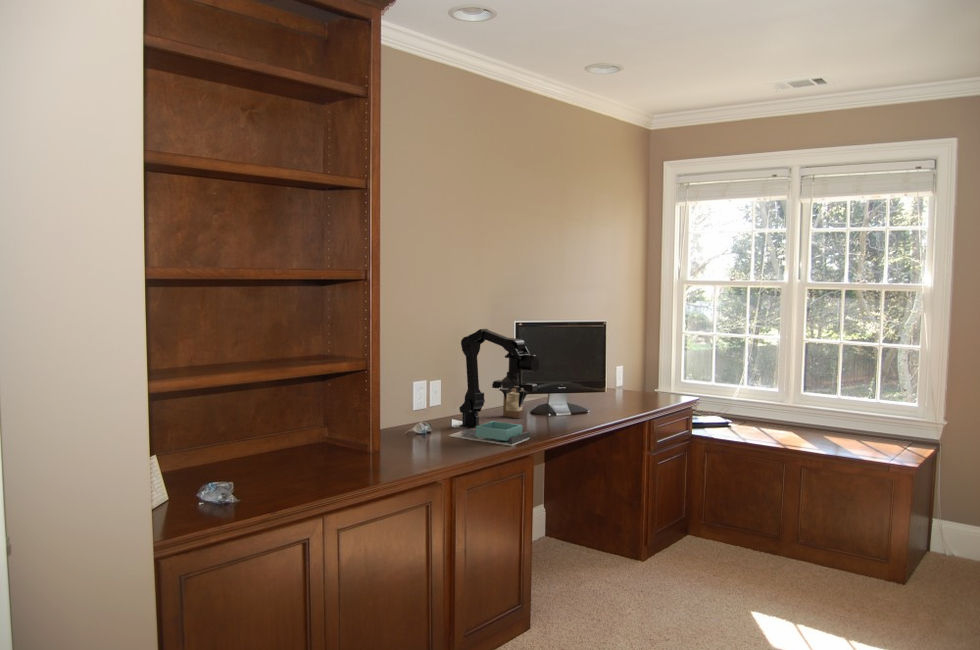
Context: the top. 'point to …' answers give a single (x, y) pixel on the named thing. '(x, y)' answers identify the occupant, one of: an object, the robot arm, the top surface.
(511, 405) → the part
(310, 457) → the top surface
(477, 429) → the teal storage bin
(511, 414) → the wooden block
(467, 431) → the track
